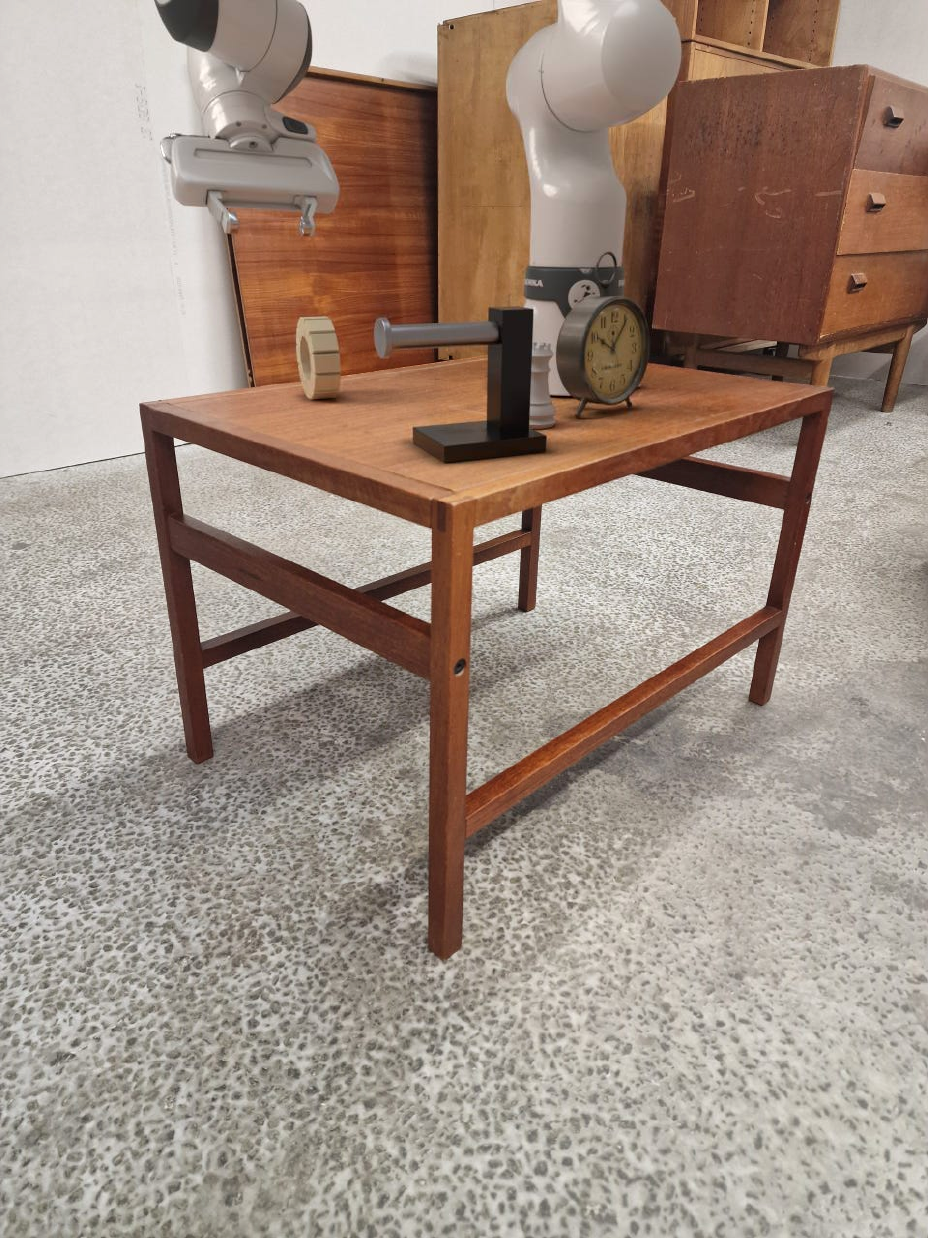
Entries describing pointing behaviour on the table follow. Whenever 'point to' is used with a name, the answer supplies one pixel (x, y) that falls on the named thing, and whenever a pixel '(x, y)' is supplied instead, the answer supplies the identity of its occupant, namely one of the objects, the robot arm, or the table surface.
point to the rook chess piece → (541, 388)
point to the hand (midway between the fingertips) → (271, 231)
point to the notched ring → (318, 357)
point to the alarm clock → (603, 347)
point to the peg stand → (505, 383)
